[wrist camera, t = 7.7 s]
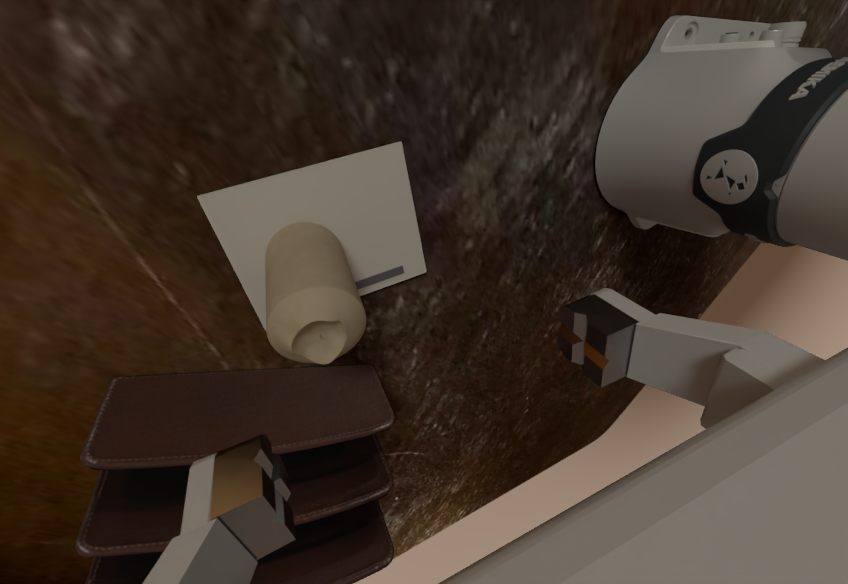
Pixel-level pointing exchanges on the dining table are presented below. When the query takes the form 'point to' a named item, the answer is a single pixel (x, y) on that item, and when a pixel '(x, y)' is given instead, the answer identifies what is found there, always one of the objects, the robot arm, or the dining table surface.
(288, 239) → the candle
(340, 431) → the letter holder
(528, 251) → the dining table surface
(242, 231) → the white rectangular plate
